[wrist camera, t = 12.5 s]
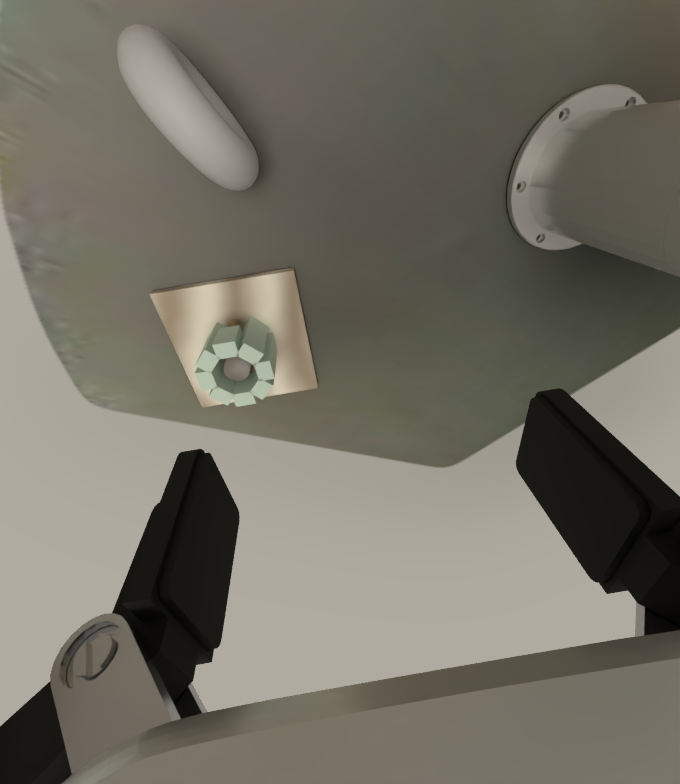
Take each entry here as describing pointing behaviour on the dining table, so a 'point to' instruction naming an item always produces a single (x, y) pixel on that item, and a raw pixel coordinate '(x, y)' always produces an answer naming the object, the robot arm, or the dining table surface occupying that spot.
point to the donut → (186, 108)
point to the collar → (245, 345)
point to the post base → (235, 307)
